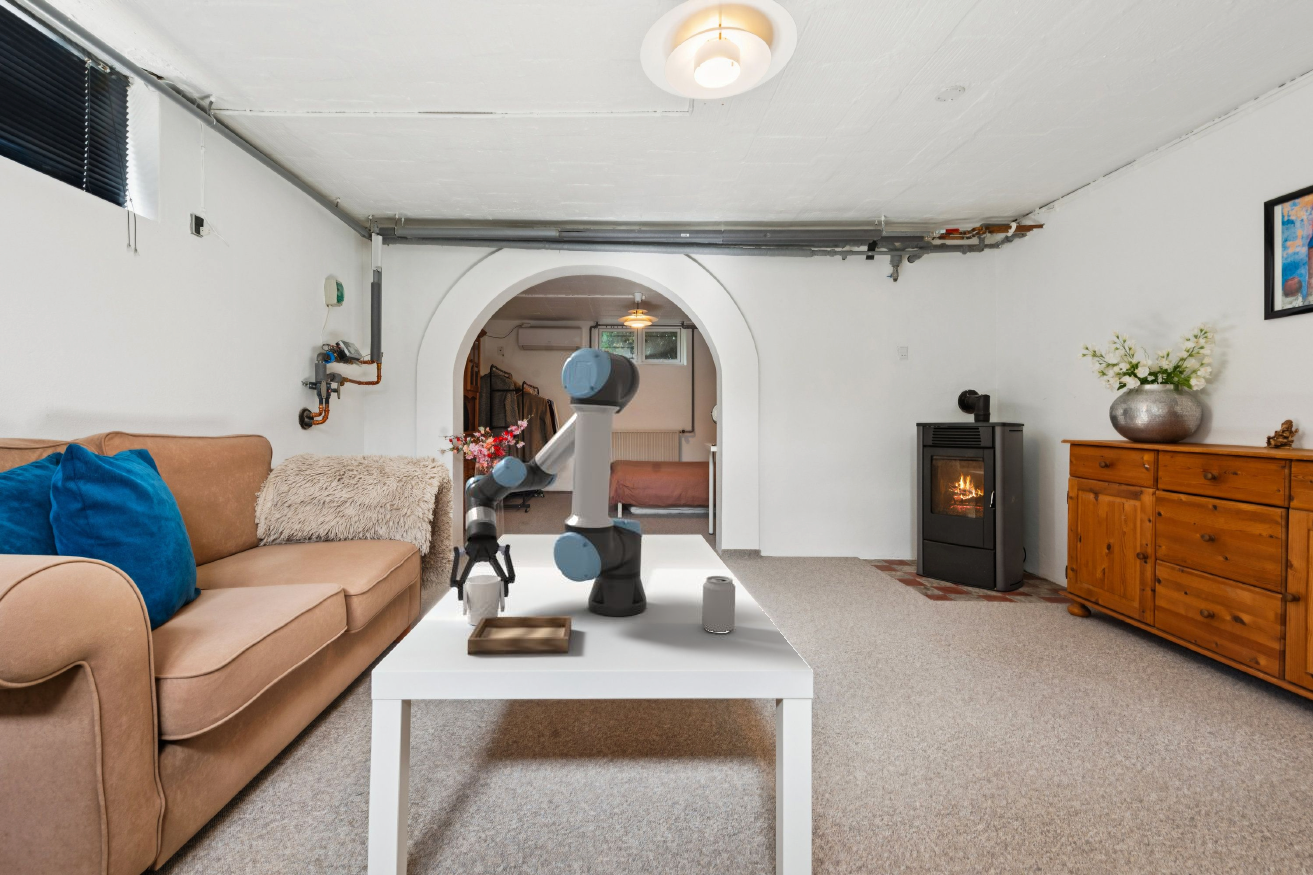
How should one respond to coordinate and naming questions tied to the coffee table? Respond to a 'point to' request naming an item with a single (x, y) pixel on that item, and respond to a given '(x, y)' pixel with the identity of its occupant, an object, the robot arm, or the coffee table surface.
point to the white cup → (482, 597)
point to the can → (718, 604)
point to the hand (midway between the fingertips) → (484, 610)
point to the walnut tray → (521, 635)
